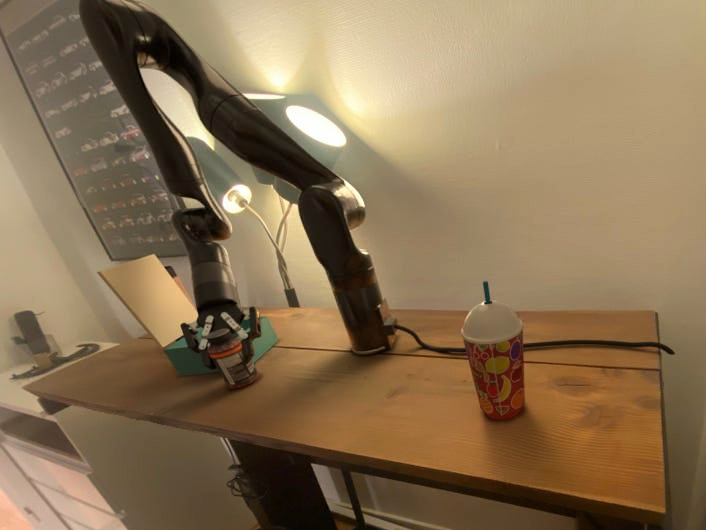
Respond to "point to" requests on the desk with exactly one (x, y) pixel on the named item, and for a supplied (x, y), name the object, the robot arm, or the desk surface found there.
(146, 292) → the lid
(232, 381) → the supplement bottle
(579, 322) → the desk surface
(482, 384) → the smoothie
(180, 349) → the teal open box
